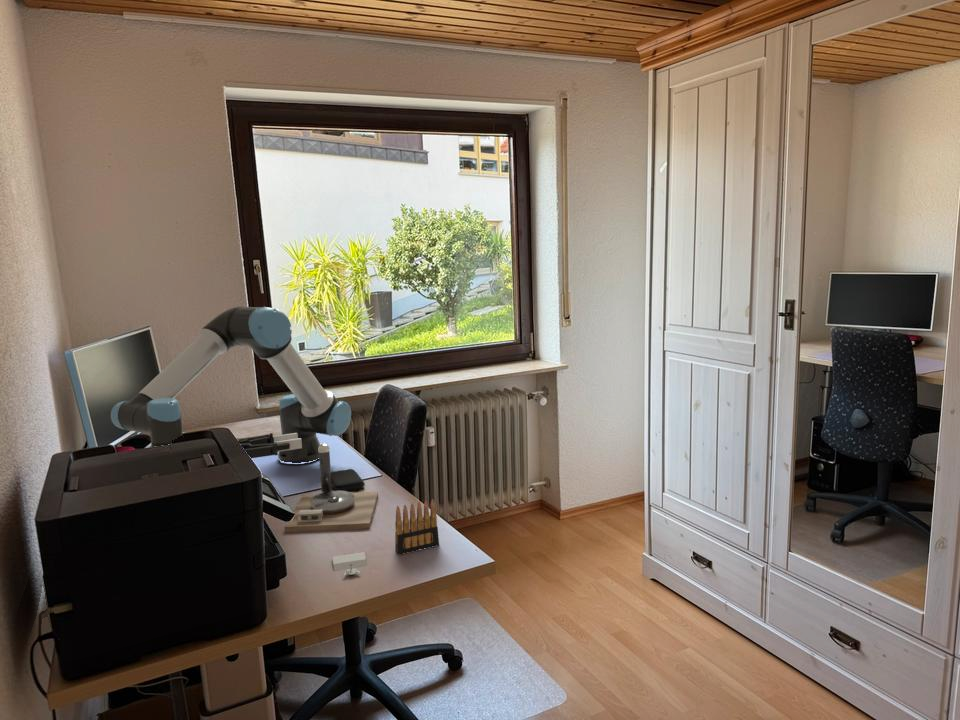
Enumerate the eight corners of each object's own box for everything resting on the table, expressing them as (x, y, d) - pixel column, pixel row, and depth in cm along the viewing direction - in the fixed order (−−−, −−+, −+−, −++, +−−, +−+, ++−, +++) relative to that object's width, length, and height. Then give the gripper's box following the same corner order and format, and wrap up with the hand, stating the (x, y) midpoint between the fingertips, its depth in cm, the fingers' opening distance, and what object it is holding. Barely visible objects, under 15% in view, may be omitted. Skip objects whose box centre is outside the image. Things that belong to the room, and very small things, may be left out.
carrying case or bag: (322, 481, 207) (331, 496, 194) (321, 472, 207) (330, 487, 193) (355, 475, 211) (366, 490, 198) (354, 466, 211) (365, 481, 198)
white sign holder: (364, 557, 156) (363, 547, 155) (370, 581, 144) (369, 570, 144) (332, 561, 154) (332, 551, 153) (336, 586, 143) (335, 576, 142)
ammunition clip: (436, 542, 161) (434, 497, 159) (439, 545, 160) (437, 499, 158) (395, 552, 157) (392, 505, 155) (397, 555, 155) (395, 508, 153)
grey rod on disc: (359, 508, 179) (356, 453, 176) (315, 517, 174) (311, 460, 171) (346, 490, 193) (343, 439, 190) (305, 498, 188) (301, 445, 185)
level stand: (303, 499, 191) (302, 487, 191) (378, 496, 192) (377, 484, 192) (285, 532, 170) (283, 519, 169) (369, 528, 171) (369, 515, 170)
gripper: (209, 457, 181) (295, 444, 191) (213, 477, 165) (306, 462, 174) (206, 431, 180) (293, 419, 189) (210, 449, 163) (304, 435, 173)
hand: (299, 440), depth 182 cm, fingers open, 5 cm apart
